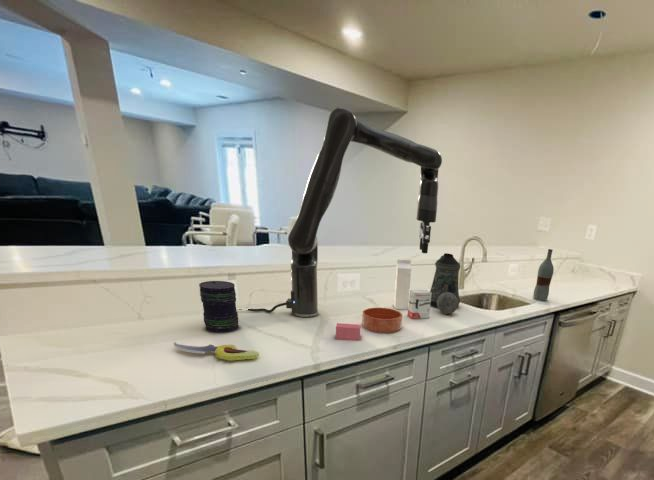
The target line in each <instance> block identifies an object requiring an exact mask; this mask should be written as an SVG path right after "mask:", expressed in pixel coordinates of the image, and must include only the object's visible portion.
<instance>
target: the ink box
mask: <svg viewBox="0 0 654 480" xmlns="http://www.w3.org/2000/svg"><path fill="white" fill-rule="evenodd" d="M431 294H432V293H431V292H430V291H429V290H428V289H425V288H423V289H421V288H420V289H419V288H418V289H417V288H416V289H410V290H409V303H408V309H407V316H408V317H409V318H410V319H413V320H414V319H429V318H430V311H431V306H430V303H431Z"/></svg>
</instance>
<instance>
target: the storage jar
mask: <svg viewBox="0 0 654 480" xmlns="http://www.w3.org/2000/svg"><path fill="white" fill-rule="evenodd" d="M198 287H199V296H200V301H201V303H202V307H203V308H202V310H203V313H202V314H203V323H204V326H205V327H204V328H205V331H207V332H208V333H212V334H228V333H233V332H236V331H237V330H239V329H240V327H239V326H240V325H239V315H238V310H236V307H237V305H236V302H237V293H236V289H235V287H236V286H235V283H233V282H231V281H226V280H225V281H224V280H209V281H208V280H207V281H203V282H200V283H199V284H198Z"/></svg>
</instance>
